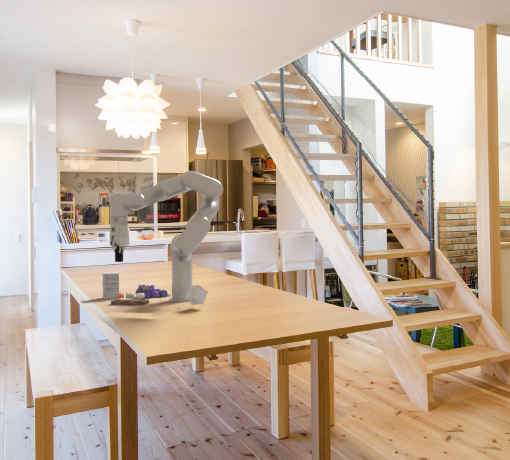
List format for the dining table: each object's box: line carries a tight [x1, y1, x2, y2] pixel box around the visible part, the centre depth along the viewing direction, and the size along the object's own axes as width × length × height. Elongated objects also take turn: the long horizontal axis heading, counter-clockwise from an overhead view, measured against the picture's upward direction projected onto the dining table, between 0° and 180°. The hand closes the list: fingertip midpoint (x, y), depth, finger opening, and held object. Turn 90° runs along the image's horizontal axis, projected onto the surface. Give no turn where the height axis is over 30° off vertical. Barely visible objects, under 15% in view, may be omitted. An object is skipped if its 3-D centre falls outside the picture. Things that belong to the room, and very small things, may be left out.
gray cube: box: [185, 284, 208, 305], centre depth 208 cm, size 6×6×6 cm
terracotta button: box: [116, 292, 125, 299], centre depth 215 cm, size 4×4×2 cm
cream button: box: [135, 293, 145, 300], centre depth 213 cm, size 4×4×2 cm
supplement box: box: [102, 271, 120, 301], centre depth 233 cm, size 7×7×13 cm
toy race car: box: [135, 284, 171, 300], centre depth 237 cm, size 10×15×6 cm, turn 128°
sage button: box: [125, 292, 135, 299], centre depth 214 cm, size 4×4×2 cm
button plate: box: [110, 298, 150, 306], centre depth 214 cm, size 16×6×2 cm, turn 77°
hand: (119, 261), depth 215 cm, fingers closed
